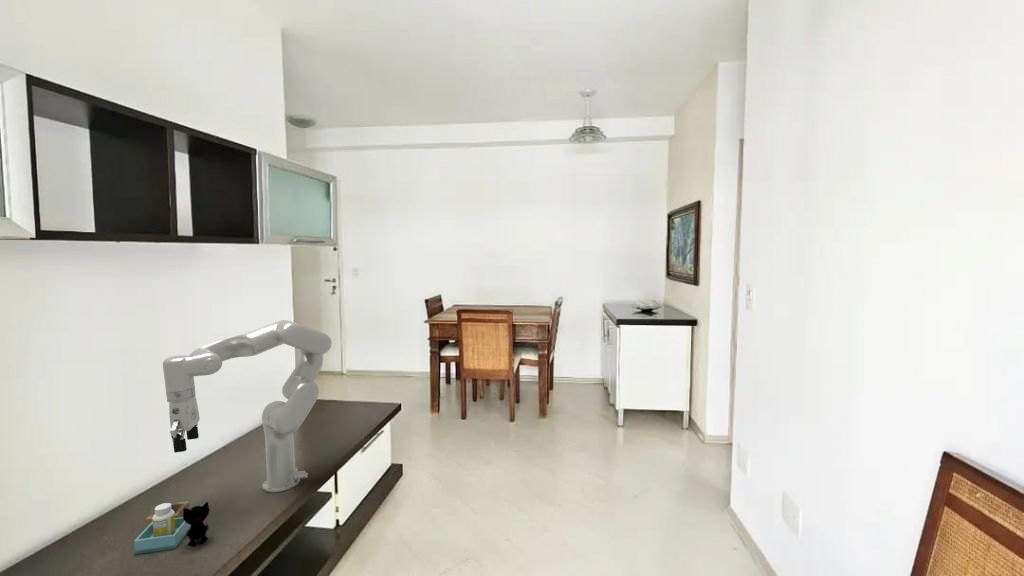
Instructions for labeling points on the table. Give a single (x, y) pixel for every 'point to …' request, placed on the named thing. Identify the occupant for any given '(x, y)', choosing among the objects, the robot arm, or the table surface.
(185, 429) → the robot arm
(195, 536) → the cat figurine
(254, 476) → the table surface
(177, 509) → the hollow wooden block
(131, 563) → the table surface
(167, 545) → the tray
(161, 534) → the supplement bottle
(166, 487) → the table surface
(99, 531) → the table surface
